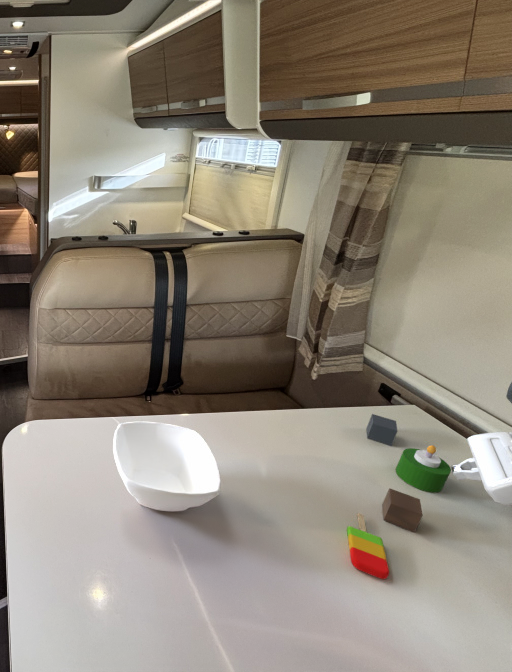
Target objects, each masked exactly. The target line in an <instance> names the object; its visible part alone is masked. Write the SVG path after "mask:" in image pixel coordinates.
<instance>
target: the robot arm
mask: <svg viewBox="0 0 512 672" xmlns="http://www.w3.org/2000/svg"><path fill="white" fill-rule="evenodd" d="M505 397H506V399H507V400H508V401H509V402H510V403H511V404H512V381H511V382H510V384H509V386H508V389H507V390H506V396H505ZM466 441H467V443H468V446H469V449H470V452H471V455H472V457H470V458H467V459H465V460H463V461H462V462H460V463H458V464H452V465H451V466H450V468H451V472H452V476H453V477H454V478H455V479H456V480H459V481H462V480H471V481H478V482H482V485H483V488H484V490H485V492H486V493H487V494H488V496H489V497H490V498H491V499H492V500H493V501H494V502H495V503H497V504H500V505H506V506H507V505H512V431H509V432H508V431H492V432H484V433H479V434H473V435H470V436H469V437H467V438H466Z"/></svg>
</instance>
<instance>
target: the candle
mask: <svg viewBox="0 0 512 672" xmlns="http://www.w3.org/2000/svg"><path fill="white" fill-rule="evenodd" d="M436 452H437V447H436V446H435V445H428V447H426V450H424V449H420V448H415V447H414V448H412V447H409V448H405V449H404V450H403V451H402V453H401V456H400V458H399V459H398V462H397V465H396V467H395V473H396V475H397V477H398V478H400V479H401V480H402V481H403V482H404V483H406V484H407V485H409V486H411V487H412V488H415V489H418V490H420V491H423V492H427V493H432V494H433V493H434V494H435V493H440V492H442V491H443V488H444V487H445V485H446V482H447V480H448V478H449V476H450V474H451V472H452V469H451V466H450V465H449V464H448V463H447V461H445V460H444V459H442V458H440V456H438V455H436Z"/></svg>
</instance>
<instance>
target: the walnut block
mask: <svg viewBox="0 0 512 672" xmlns="http://www.w3.org/2000/svg"><path fill="white" fill-rule="evenodd" d="M381 506H382V518H383V521H385V522H387V523H389V524H392V525H394V526H397V527H399V528H402V529H404V530H407V531H409V532H412V533H415V532H416V531H417V528H418V527H419V524H420V522H421V520H422V518H423V517H424V515H423V509H422V503H421V499H420V498H418V497H415V496H413V495H410V494H408V493H407V494H406V493H404V492H401V491H398V490H396V489H393V488H388V490H387V492H386V495H385V497H384V499H383V502H382V504H381Z"/></svg>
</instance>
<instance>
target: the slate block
mask: <svg viewBox="0 0 512 672" xmlns="http://www.w3.org/2000/svg"><path fill="white" fill-rule="evenodd" d="M397 434H398V426H397V420H394V419H391V418H387V417H384V416H381V415H378V414H375V413H371V415H370V418H369V420H368V424H367V426H366V439H367V440H371V441H374V442H376V443H380V444H382V445H387V446H390V447H392V445H393V443H394V440H395V439H396V437H397Z"/></svg>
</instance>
